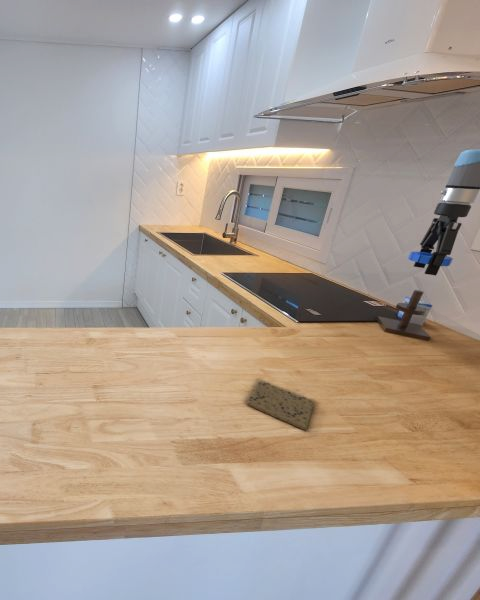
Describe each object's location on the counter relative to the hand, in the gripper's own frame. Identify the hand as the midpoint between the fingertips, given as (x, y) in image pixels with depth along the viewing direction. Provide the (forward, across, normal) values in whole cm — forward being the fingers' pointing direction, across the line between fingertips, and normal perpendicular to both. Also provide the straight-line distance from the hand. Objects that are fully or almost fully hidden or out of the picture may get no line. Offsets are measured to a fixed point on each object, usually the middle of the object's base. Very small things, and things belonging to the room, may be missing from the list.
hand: (424, 270), depth 114 cm
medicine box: (+22, -12, +6) cm, 26 cm away
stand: (+22, +1, +1) cm, 22 cm away
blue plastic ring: (-3, 0, 0) cm, 3 cm away
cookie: (+22, +75, -39) cm, 87 cm away
